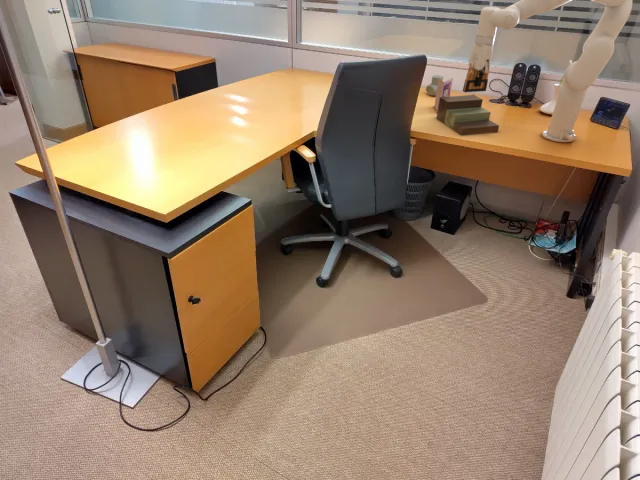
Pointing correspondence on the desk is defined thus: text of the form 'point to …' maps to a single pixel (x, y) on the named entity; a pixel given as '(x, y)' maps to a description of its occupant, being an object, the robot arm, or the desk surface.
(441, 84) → the greeting card
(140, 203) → the desk surface
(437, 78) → the grey pipe tee fitting
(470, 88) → the ammunition clip
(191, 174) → the desk surface
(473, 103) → the step shelf
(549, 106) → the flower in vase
